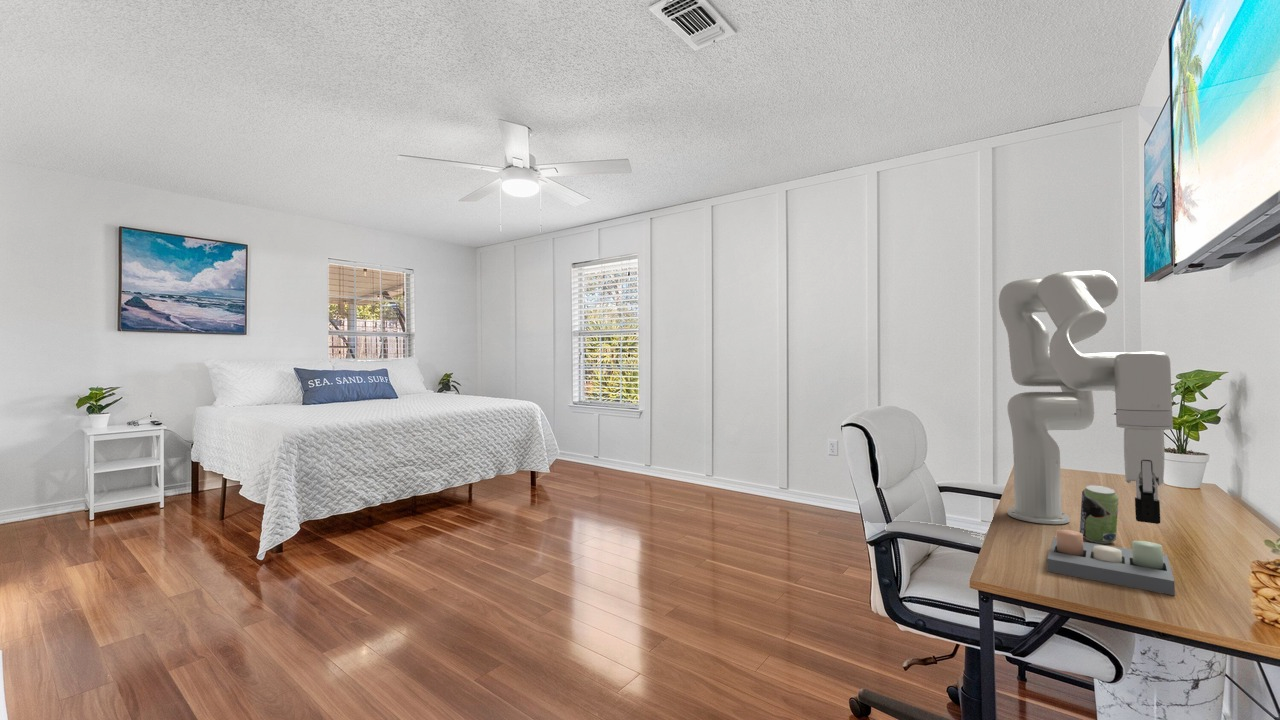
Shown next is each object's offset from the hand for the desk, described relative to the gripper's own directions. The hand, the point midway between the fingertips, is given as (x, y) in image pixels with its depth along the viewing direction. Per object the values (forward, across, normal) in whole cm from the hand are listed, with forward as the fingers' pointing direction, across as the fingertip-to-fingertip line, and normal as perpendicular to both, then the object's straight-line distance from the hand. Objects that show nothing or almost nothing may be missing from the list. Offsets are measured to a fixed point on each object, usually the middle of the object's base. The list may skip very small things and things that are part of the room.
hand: (1147, 521), depth 98 cm
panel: (+10, -1, -6) cm, 12 cm away
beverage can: (+10, -20, -7) cm, 24 cm away
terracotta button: (+8, 0, -11) cm, 14 cm away
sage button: (+8, 0, 0) cm, 8 cm away
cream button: (+10, 0, -6) cm, 11 cm away
